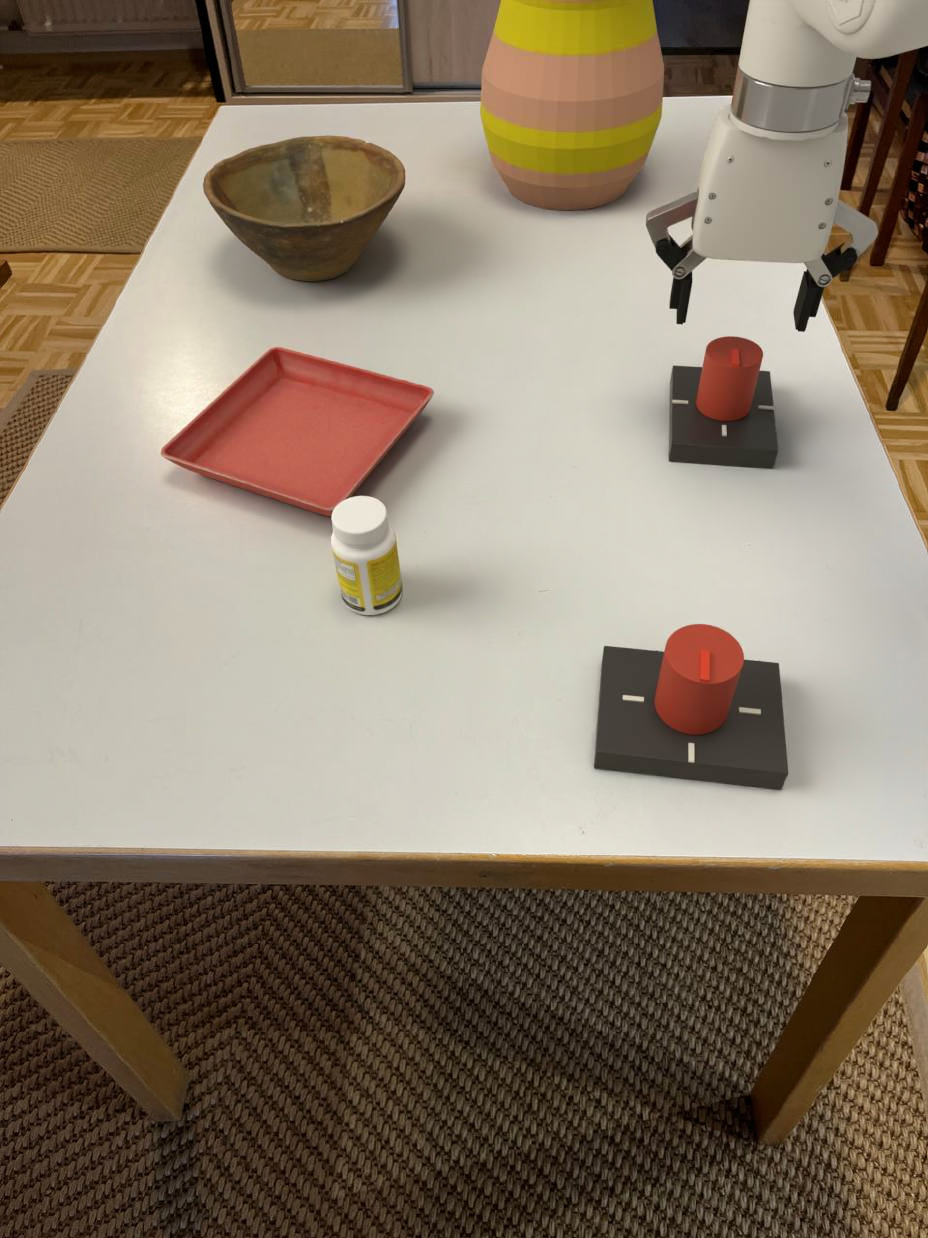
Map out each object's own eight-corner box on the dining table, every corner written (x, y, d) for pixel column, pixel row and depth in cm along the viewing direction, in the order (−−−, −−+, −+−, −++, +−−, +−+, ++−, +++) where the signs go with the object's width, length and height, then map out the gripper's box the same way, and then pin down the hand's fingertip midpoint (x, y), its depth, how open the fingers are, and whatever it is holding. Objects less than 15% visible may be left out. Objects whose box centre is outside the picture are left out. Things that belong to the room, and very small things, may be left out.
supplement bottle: (404, 572, 73) (395, 491, 67) (400, 617, 70) (390, 536, 64) (344, 572, 73) (329, 492, 67) (338, 617, 70) (322, 536, 64)
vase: (468, 156, 125) (461, -124, 103) (626, 141, 127) (653, -138, 104) (498, 231, 111) (497, -76, 88) (675, 212, 112) (719, -93, 90)
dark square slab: (669, 382, 89) (672, 363, 87) (765, 388, 88) (770, 369, 86) (668, 461, 81) (671, 441, 80) (773, 469, 80) (779, 449, 78)
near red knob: (655, 672, 63) (667, 616, 59) (727, 681, 63) (744, 625, 58) (652, 730, 60) (664, 675, 56) (728, 739, 59) (746, 684, 55)
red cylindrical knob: (695, 387, 85) (706, 331, 81) (749, 391, 84) (762, 334, 80) (696, 419, 82) (706, 362, 77) (751, 423, 81) (765, 365, 77)
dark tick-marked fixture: (772, 680, 65) (779, 661, 63) (781, 790, 59) (789, 772, 58) (601, 662, 67) (604, 643, 65) (593, 768, 61) (596, 750, 59)
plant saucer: (339, 539, 76) (333, 509, 73) (165, 481, 82) (154, 451, 79) (439, 417, 86) (437, 387, 84) (279, 373, 92) (272, 344, 90)
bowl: (408, 210, 115) (401, 125, 107) (415, 306, 100) (408, 215, 92) (232, 221, 114) (213, 137, 107) (212, 319, 99) (189, 229, 92)
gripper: (910, 80, 65) (841, 301, 78) (662, 73, 67) (635, 290, 80) (928, 123, 60) (852, 351, 73) (660, 114, 63) (632, 337, 76)
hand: (739, 319), depth 77 cm, fingers open, 9 cm apart
